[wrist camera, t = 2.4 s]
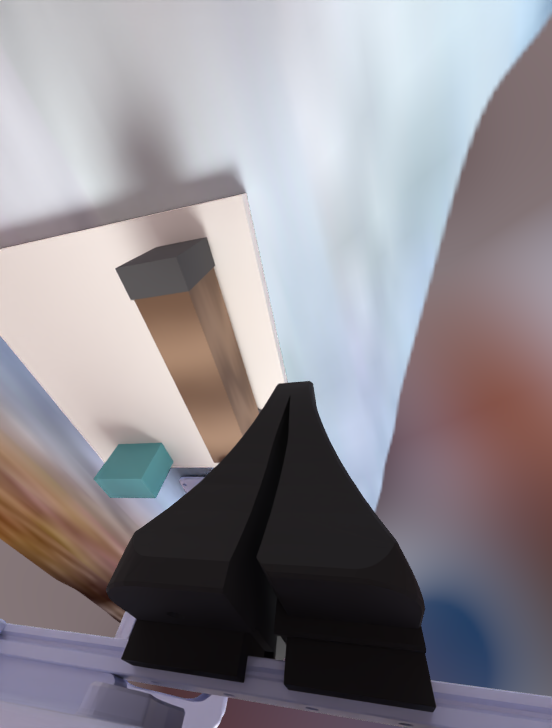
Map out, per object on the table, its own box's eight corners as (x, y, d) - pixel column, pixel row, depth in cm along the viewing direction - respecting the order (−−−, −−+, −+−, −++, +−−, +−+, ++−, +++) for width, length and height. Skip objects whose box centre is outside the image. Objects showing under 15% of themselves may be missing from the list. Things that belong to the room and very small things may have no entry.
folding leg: (267, 436, 25) (258, 485, 21) (233, 437, 26) (218, 485, 22) (206, 237, 16) (171, 259, 12) (156, 246, 17) (108, 271, 13)
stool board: (303, 455, 29) (301, 506, 24) (115, 459, 33) (85, 502, 29) (246, 192, 16) (220, 203, 12) (-42, 258, 21) (-134, 282, 17)
